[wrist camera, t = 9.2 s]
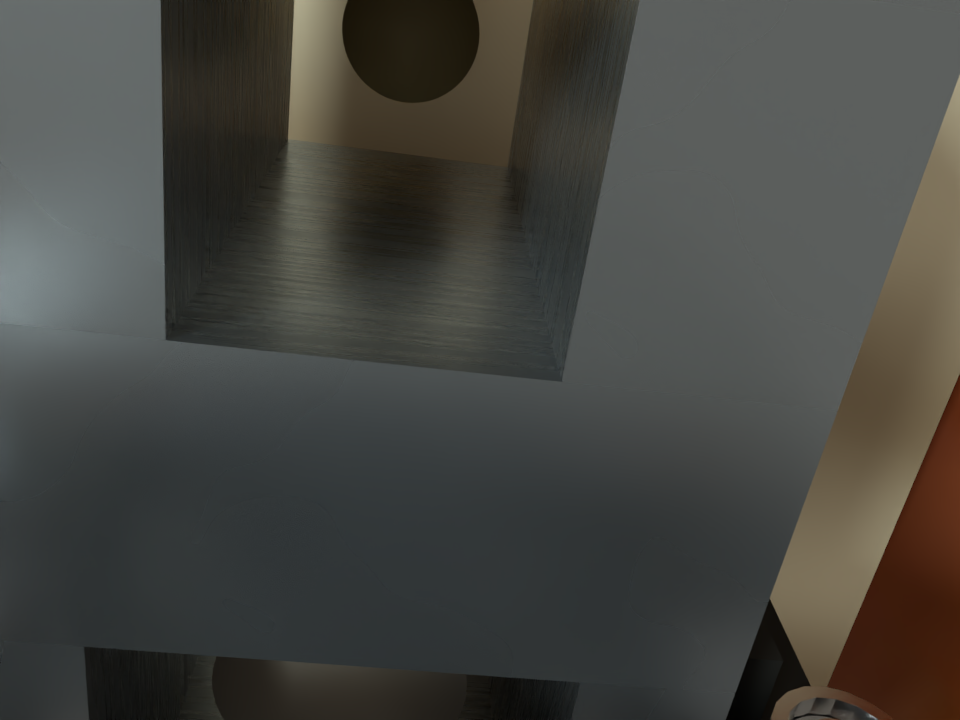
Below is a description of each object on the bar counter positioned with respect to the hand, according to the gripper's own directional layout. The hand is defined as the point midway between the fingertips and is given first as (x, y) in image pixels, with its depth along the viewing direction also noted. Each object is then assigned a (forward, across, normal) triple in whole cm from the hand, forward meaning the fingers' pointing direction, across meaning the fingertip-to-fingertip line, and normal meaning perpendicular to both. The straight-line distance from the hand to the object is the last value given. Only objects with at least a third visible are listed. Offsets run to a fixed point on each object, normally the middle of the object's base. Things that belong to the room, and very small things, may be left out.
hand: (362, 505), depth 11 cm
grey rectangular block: (+1, 0, 0) cm, 1 cm away
